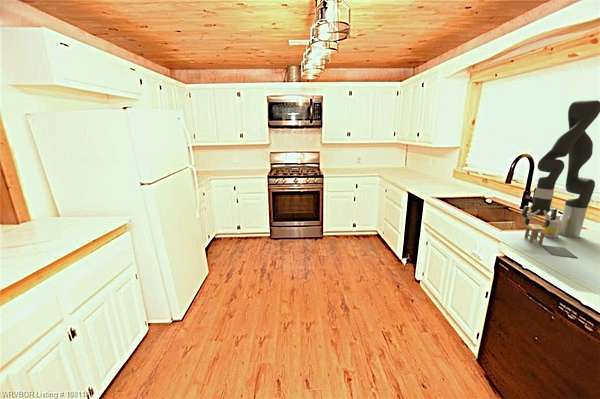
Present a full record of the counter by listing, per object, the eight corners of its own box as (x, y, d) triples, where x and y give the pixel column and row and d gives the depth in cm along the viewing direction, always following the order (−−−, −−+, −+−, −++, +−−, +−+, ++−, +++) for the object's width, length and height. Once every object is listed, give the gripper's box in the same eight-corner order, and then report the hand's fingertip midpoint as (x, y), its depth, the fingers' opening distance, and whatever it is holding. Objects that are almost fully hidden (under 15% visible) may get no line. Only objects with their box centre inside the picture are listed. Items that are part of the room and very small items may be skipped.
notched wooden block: (530, 242, 156) (533, 228, 154) (524, 237, 163) (527, 223, 161) (542, 243, 154) (545, 229, 152) (535, 238, 162) (539, 224, 160)
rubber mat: (540, 245, 152) (541, 244, 152) (564, 248, 149) (564, 247, 149) (551, 255, 141) (552, 254, 141) (577, 258, 138) (577, 257, 138)
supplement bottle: (550, 233, 168) (555, 212, 165) (561, 238, 162) (566, 216, 159) (539, 233, 168) (544, 212, 165) (549, 238, 162) (554, 216, 159)
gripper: (556, 196, 154) (548, 225, 158) (524, 194, 158) (518, 222, 162) (563, 199, 147) (555, 229, 151) (530, 197, 151) (523, 226, 155)
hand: (536, 225), depth 156 cm, fingers open, 8 cm apart
